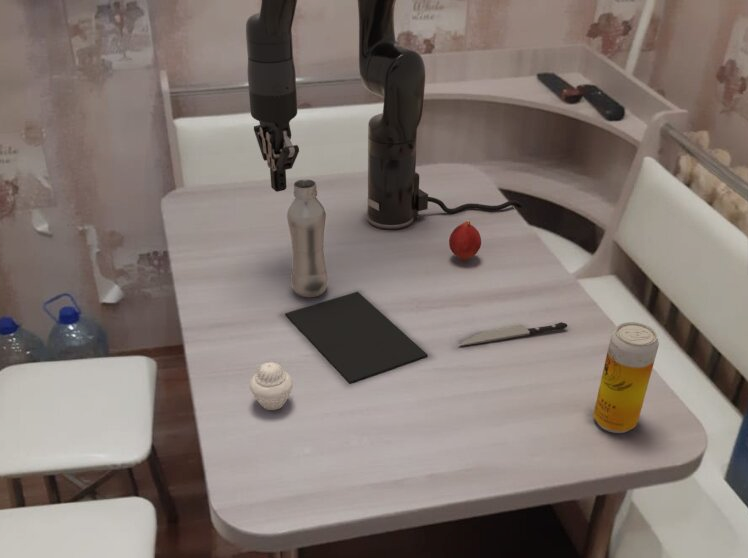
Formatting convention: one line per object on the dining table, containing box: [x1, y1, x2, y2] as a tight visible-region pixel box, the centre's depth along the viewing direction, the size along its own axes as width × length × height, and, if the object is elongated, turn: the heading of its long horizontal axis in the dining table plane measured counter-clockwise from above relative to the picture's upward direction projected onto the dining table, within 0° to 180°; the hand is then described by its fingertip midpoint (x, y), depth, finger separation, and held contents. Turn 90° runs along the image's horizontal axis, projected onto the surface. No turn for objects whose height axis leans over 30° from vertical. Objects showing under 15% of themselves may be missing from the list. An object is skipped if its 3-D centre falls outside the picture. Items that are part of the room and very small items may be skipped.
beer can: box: [593, 321, 660, 434], centre depth 112 cm, size 6×6×15 cm
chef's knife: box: [457, 321, 568, 347], centre depth 133 cm, size 19×1×3 cm
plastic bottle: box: [286, 178, 329, 298], centre depth 138 cm, size 6×7×20 cm
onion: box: [448, 219, 482, 261], centre depth 151 cm, size 6×6×8 cm
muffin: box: [249, 361, 293, 411], centre depth 118 cm, size 6×6×7 cm
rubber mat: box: [284, 291, 428, 384], centre depth 133 cm, size 14×22×1 cm, turn 30°
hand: (278, 189), depth 141 cm, fingers closed
